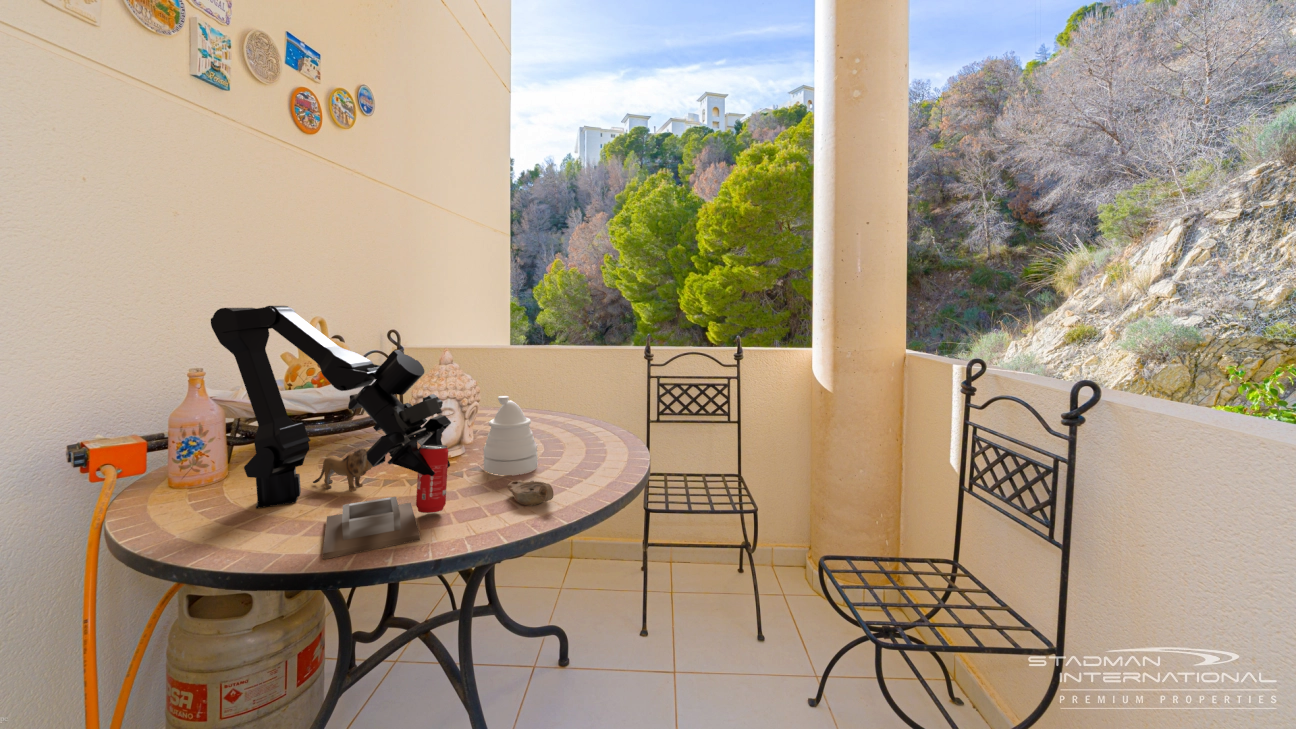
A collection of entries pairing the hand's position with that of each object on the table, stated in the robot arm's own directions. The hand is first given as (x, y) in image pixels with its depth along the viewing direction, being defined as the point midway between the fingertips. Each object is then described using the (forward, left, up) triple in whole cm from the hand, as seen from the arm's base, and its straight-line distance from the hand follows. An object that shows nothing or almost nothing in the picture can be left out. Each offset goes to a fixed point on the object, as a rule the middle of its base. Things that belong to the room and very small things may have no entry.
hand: (440, 471), depth 97 cm
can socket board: (-12, -2, -8) cm, 15 cm away
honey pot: (+19, +22, -9) cm, 30 cm away
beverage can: (-2, 0, -7) cm, 8 cm away
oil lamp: (+17, -2, -9) cm, 19 cm away
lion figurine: (-16, +25, -9) cm, 31 cm away
